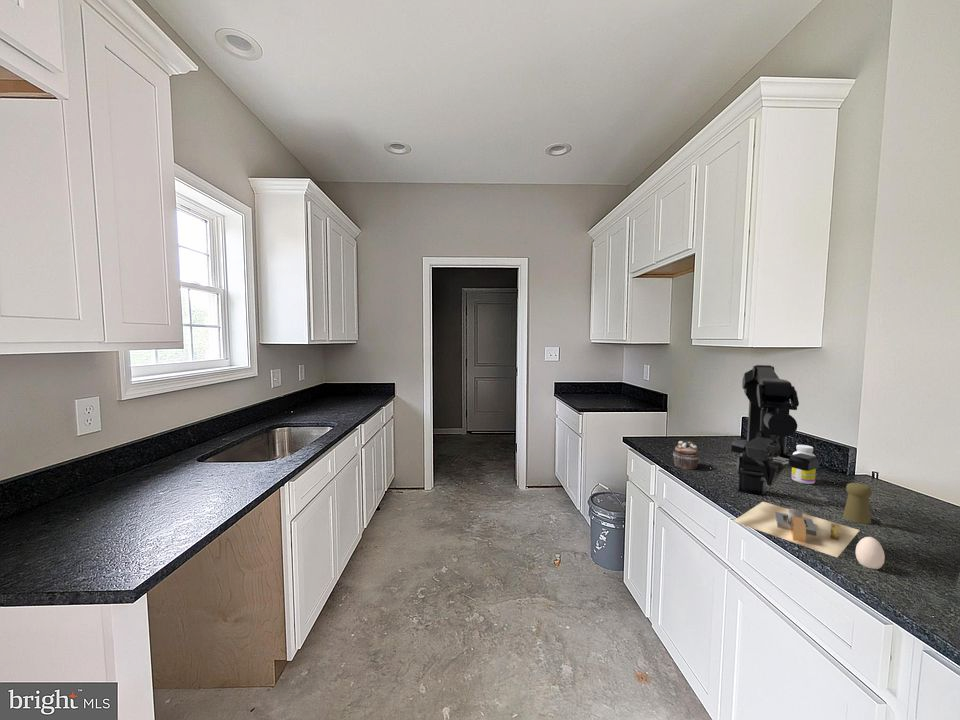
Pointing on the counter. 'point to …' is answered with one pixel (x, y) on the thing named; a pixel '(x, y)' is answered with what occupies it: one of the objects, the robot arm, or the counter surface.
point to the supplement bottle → (802, 475)
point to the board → (766, 522)
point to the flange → (796, 526)
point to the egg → (870, 553)
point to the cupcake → (686, 455)
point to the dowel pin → (834, 531)
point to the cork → (858, 503)
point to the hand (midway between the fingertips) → (770, 485)
